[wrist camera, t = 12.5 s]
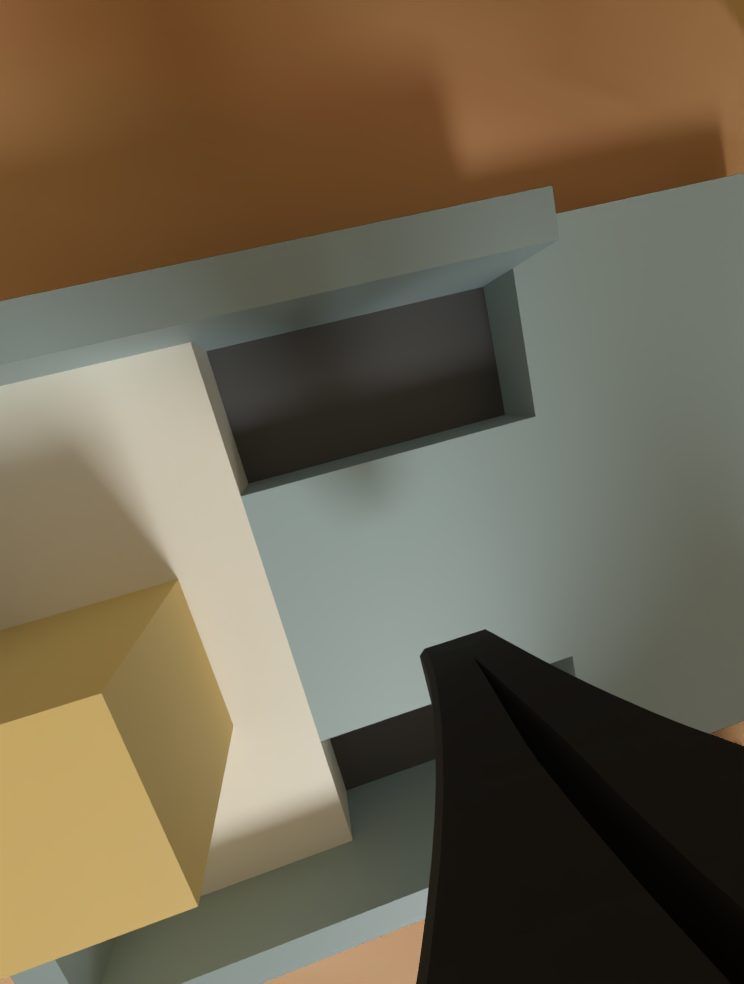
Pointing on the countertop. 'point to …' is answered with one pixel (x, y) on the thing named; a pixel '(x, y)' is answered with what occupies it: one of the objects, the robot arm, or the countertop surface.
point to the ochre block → (105, 773)
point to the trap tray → (386, 515)
